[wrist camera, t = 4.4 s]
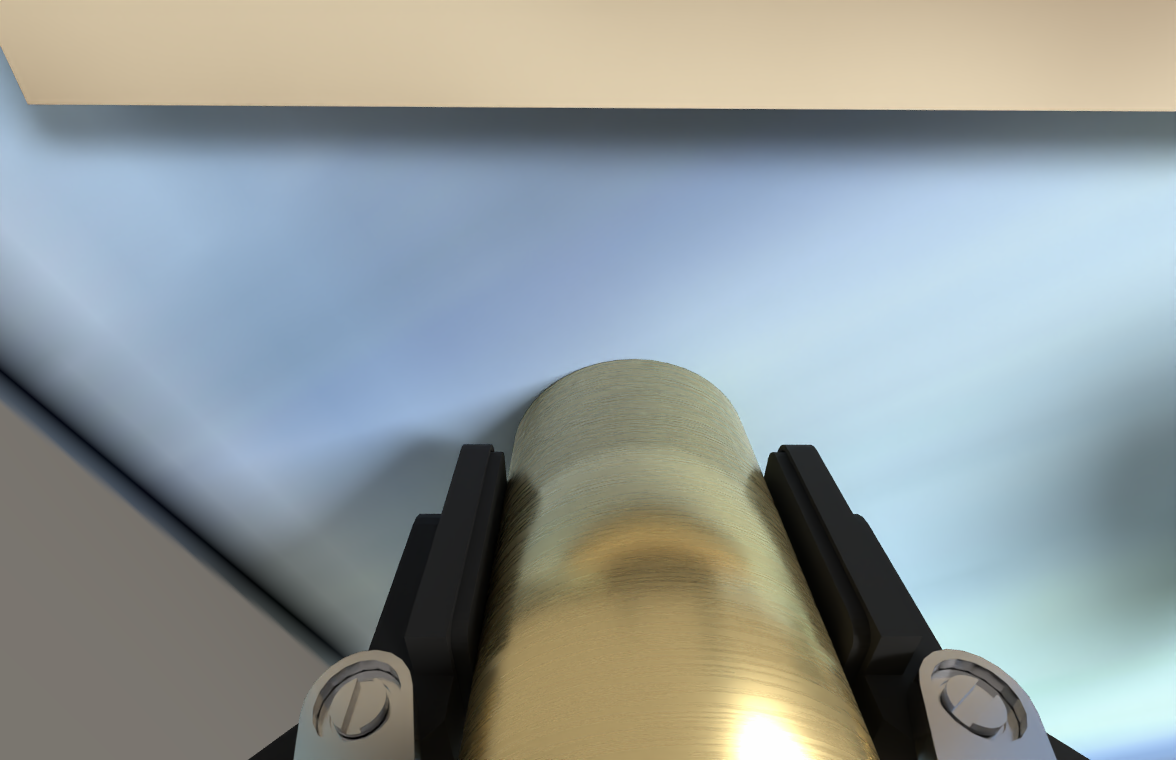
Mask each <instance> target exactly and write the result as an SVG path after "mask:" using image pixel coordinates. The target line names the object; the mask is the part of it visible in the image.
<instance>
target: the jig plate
mask: <svg viewBox="0 0 1176 760" xmlns="http://www.w3.org/2000/svg"><path fill="white" fill-rule="evenodd" d="M0 46H1V48H2V50H3V52H4V54H5V56H6V59H7V61H8V63H9V65H10V67H11V69H12V71H13V74H14V76H15V78H16V80H17V82H18V84H19V86H20V89H21V91H22V93H23V95H24V97H25V99H26V101H27V103H28V104H47V105H209V106H372V107H534V108H697V109H859V110H1022V111H1176V0H0Z"/></svg>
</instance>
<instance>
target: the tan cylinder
mask: <svg viewBox="0 0 1176 760" xmlns="http://www.w3.org/2000/svg"><path fill="white" fill-rule="evenodd" d="M458 760H880V759H879V756H878V754H877V752H876V749H875V747H874V744H873V742H872V739H871V737H870V734H869V732H868V730H867V727H866V725H865V722H864V720H863V717H862V715H861V713H860V710H859V708H858V705H857V703H856V700H855V698H854V696H853V693H852V691H851V688H850V686H849V683H848V681H847V679H846V676H845V674H844V671H843V669H842V666H841V664H840V662H839V659H838V657H837V654H836V652H835V649H834V647H833V645H832V642H831V640H830V637H829V635H828V632H827V630H826V628H825V625H824V623H823V620H822V618H821V615H820V613H819V610H818V608H817V606H816V603H815V601H814V598H813V596H812V593H811V591H810V589H809V586H808V584H807V581H806V579H805V576H804V574H803V572H802V569H801V567H800V564H799V562H798V559H797V557H796V555H795V552H794V550H793V547H792V545H791V542H790V540H789V538H788V535H787V533H786V530H785V528H784V525H783V523H782V521H781V518H780V516H779V513H778V511H777V508H776V506H775V504H774V501H773V499H772V496H771V494H770V491H769V489H768V486H767V484H766V482H765V479H764V477H763V474H762V472H761V469H760V467H759V465H758V462H757V460H756V457H755V455H754V452H753V450H752V448H751V445H750V443H749V440H748V438H747V435H746V433H745V431H744V428H743V426H742V423H741V421H740V419H739V416H738V414H737V412H736V410H735V409H734V407H733V405H732V404H731V402H730V401H729V400H728V399H727V398H726V396H725V395H724V394H723V393H722V392H721V391H720V390H719V389H718V388H716V387H715V386H714V385H713V384H712V383H710V382H709V381H707V380H706V379H704V378H703V377H701V376H699V375H698V374H696V373H693V372H691V371H689V370H687V369H685V368H682V367H679V366H675V365H672V364H669V363H664V362H659V361H653V360H640V359H629V360H615V361H609V362H604V363H599V364H596V365H592V366H589V367H585V368H583V369H580V370H578V371H576V372H573V373H571V374H569V375H567V376H566V377H564V378H562V379H560V380H559V381H557V382H555V383H554V384H553V385H551V386H550V387H549V388H548V389H546V390H545V391H544V392H543V393H542V394H541V395H540V396H539V397H538V398H537V399H536V400H535V401H534V402H533V403H532V405H531V406H530V407H529V409H528V410H527V411H526V413H525V415H524V416H523V418H522V420H521V422H520V424H519V427H518V430H517V433H516V435H515V441H514V446H513V452H512V458H511V463H510V469H509V475H508V480H507V486H506V492H505V498H504V503H503V509H502V515H501V520H500V526H499V532H498V537H497V543H496V549H495V554H494V560H493V566H492V572H491V577H490V583H489V589H488V594H487V600H486V606H485V611H484V617H483V623H482V628H481V634H480V640H479V646H478V651H477V657H476V663H475V668H474V674H473V680H472V685H471V691H470V697H469V702H468V708H467V714H466V720H465V725H464V731H463V737H462V742H461V748H460V754H459V759H458Z"/></svg>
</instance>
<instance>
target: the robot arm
mask: <svg viewBox="0 0 1176 760" xmlns="http://www.w3.org/2000/svg"><path fill="white" fill-rule="evenodd" d="M764 479H765V482H766V484H767V486H768V489H769V491H770V494H771V496H772V499H773V501H774V504H775V506H776V508H777V511H778V513H779V516H780V518H781V521H782V523H783V525H784V528H785V530H786V533H787V535H788V538H789V540H790V542H791V545H792V547H793V550H794V552H795V555H796V557H797V559H798V562H799V564H800V567H801V569H802V572H803V574H804V576H805V579H806V581H807V584H808V586H809V589H810V591H811V593H812V596H813V598H814V601H815V603H816V606H817V608H818V610H819V613H820V615H821V618H822V620H823V623H824V625H825V628H826V630H827V632H828V635H829V637H830V640H831V642H832V645H833V647H834V649H835V652H836V654H837V657H838V659H839V662H840V664H841V666H842V669H843V671H844V674H845V676H846V679H847V681H848V683H849V686H850V688H851V691H852V693H853V696H854V698H855V700H856V703H857V705H858V708H859V710H860V713H861V715H862V717H863V720H864V722H865V725H866V727H867V730H868V732H869V734H870V737H871V739H872V742H873V744H874V747H875V749H876V752H877V754H878V756H879V759H880V760H1089V759H1088V758H1086V757H1085V756H1083V755H1081V754H1080V753H1078V752H1077V751H1075V750H1073V749H1072V748H1070V747H1069V746H1067V745H1065V744H1064V743H1062V742H1061V741H1059V740H1057V739H1056V738H1054V737H1053V736H1051V735H1049V734H1048V733H1046V731H1045V729H1044V726H1043V724H1042V721H1041V719H1040V716H1039V714H1038V712H1037V710H1036V708H1035V706H1034V705H1033V703H1032V701H1031V699H1030V697H1029V696H1028V695H1027V694H1026V692H1025V691H1024V690H1023V689H1022V688H1021V687H1020V686H1019V684H1018V683H1017V682H1016V681H1015V680H1014V679H1013V678H1011V677H1010V676H1009V675H1008V674H1007V673H1005V672H1004V671H1003V670H1002V669H1000V668H999V667H998V666H996V665H994V664H992V663H991V662H989V661H987V660H985V659H984V658H982V657H980V656H977V655H974V654H971V653H968V652H965V651H961V650H952V649H944V650H942V648H941V647H940V645H939V643H938V641H937V640H936V638H935V636H934V635H933V633H932V631H931V630H930V628H929V626H928V624H927V623H926V621H925V619H924V618H923V616H922V614H921V613H920V611H919V609H918V608H917V606H916V604H915V602H914V601H913V599H912V597H911V596H910V594H909V592H908V591H907V589H906V587H905V585H904V584H903V582H902V580H901V579H900V577H899V575H898V574H897V572H896V570H895V568H894V567H893V565H892V563H891V562H890V560H889V558H888V557H887V555H886V553H885V552H884V550H883V548H882V546H881V545H880V543H879V541H878V540H877V538H876V536H875V535H874V533H873V531H872V529H871V528H870V526H869V524H868V523H867V522H866V520H865V519H864V518H863V517H862V516H860V515H859V514H853V513H852V511H851V510H850V508H849V506H848V504H847V503H846V501H845V499H844V497H843V495H842V494H841V492H840V490H839V488H838V487H837V485H836V483H835V481H834V480H833V478H832V476H831V474H830V473H829V471H828V469H827V467H826V466H825V464H824V462H823V460H822V459H821V457H820V455H819V453H818V452H817V450H816V449H815V447H814V446H812V445H781V446H780V448H779V450H778V452H772V453H770V455H769V458H768V462H767V466H766V471H765V475H764ZM506 486H507V479H506V468H505V457H504V453H503V452H494V447H493V445H492V444H464V445H463V446H462V448H461V451H460V454H459V458H458V461H457V464H456V468H455V471H454V474H453V477H452V481H451V484H450V487H449V491H448V494H447V497H446V501H445V504H444V507H443V510H442V514H419V515H418V516H417V517H416V519H415V522H414V524H413V526H412V529H411V532H410V535H409V538H408V541H407V543H406V546H405V549H404V552H403V555H402V557H401V560H400V563H399V566H398V569H397V572H396V574H395V577H394V580H393V583H392V586H391V588H390V591H389V594H388V597H387V600H386V603H385V605H384V608H383V611H382V614H381V617H380V619H379V622H378V625H377V628H376V631H375V634H374V636H373V639H372V642H371V645H370V648H369V650H368V651H362V652H358V653H356V654H353V655H350V656H348V657H345V658H343V659H342V660H340V661H339V662H337V663H336V664H334V665H333V666H331V667H329V668H328V669H327V670H326V671H325V672H324V673H323V674H322V675H321V676H320V677H319V678H318V679H317V681H315V683H314V684H313V686H312V688H311V689H310V691H309V693H308V694H307V696H306V698H305V700H304V704H303V707H302V710H301V713H300V718H299V723H298V724H297V725H295V726H294V727H293V728H291V729H290V730H288V731H287V732H286V733H284V734H283V735H282V736H280V737H279V738H278V739H276V740H275V741H273V742H272V743H271V744H269V745H268V746H267V747H265V748H264V749H263V750H261V751H260V752H258V753H257V754H256V755H254V756H253V757H251V758H250V759H249V760H458V759H459V754H460V748H461V742H462V737H463V731H464V725H465V720H466V714H467V708H468V702H469V697H470V691H471V685H472V680H473V674H474V668H475V663H476V657H477V651H478V646H479V640H480V634H481V628H482V623H483V617H484V611H485V606H486V600H487V594H488V589H489V583H490V577H491V572H492V566H493V560H494V554H495V549H496V543H497V537H498V532H499V526H500V520H501V515H502V509H503V503H504V498H505V492H506Z"/></svg>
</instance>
